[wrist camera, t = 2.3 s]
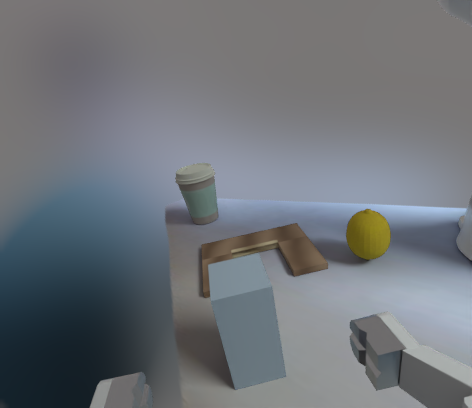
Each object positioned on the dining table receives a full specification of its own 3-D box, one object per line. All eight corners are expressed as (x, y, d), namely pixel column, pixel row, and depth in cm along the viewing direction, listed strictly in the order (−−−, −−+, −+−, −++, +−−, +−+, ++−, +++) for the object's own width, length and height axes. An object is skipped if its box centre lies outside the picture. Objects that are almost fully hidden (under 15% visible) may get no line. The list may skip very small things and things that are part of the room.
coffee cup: (201, 209, 67) (190, 162, 63) (231, 211, 63) (220, 161, 58) (179, 225, 61) (164, 175, 56) (210, 229, 56) (197, 175, 52)
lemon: (367, 276, 36) (368, 223, 33) (338, 256, 41) (337, 209, 38) (398, 261, 38) (402, 210, 35) (367, 244, 43) (368, 197, 39)
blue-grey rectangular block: (272, 334, 31) (258, 252, 26) (286, 376, 26) (272, 286, 22) (229, 345, 30) (208, 264, 26) (235, 389, 26) (210, 301, 21)
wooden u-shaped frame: (297, 227, 51) (296, 222, 51) (327, 268, 39) (327, 262, 39) (202, 249, 50) (201, 244, 49) (204, 297, 38) (203, 291, 38)
